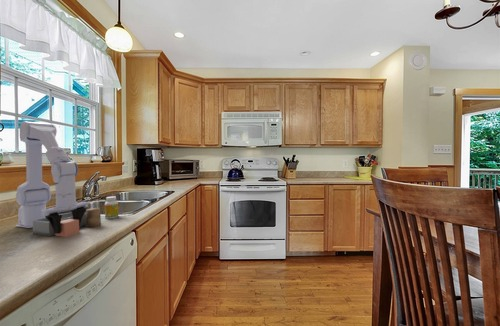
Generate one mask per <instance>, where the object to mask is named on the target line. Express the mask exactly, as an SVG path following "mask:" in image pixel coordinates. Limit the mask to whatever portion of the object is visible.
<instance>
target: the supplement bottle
mask: <svg viewBox="0 0 500 326" xmlns="http://www.w3.org/2000/svg"><path fill="white" fill-rule="evenodd" d="M105 199H106V200H105V202H104V218H105V219H106V220H108V219H109V220H110V219H116V218H118V217H119V202H118V200H117V197H116V195H115V196H107V197H106V198H105Z"/></svg>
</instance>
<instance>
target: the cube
mask: <svg viewBox="0 0 500 326" xmlns="http://www.w3.org/2000/svg"><path fill="white" fill-rule="evenodd" d="M60 227H61V232H60V233H59V234H56V233H55V235H54V236H55V237H56V236H57V237H61V238H66V237H70V236H73V235H77V234H79V233H80V227H79V220H77V219H67V220H63V221H61V223H60Z"/></svg>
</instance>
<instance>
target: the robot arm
mask: <svg viewBox="0 0 500 326" xmlns="http://www.w3.org/2000/svg"><path fill="white" fill-rule="evenodd" d="M57 132H58V131H57V127H56V125H55V124H53V123H44V122H37V121H36V122H35V121H27V120H24V121H22V122H21V123H20V125H19V139H20V142H23V143H25V144H24V145H25V162H26V163H25V165H26V166H25V167H26V169H25V171H26V173H25V175H26V176H25V177H26V180H25V182H23V183H22V184H20V185H18V186H17V188H16V194H15V200H16V203H17V204H18V205H19V206H20V207H19V208H18V211H17V214H18V215H17V216H18V224H15V226H16V227H20V228H27V229H30V228H32V229H33V221H34V220H38V219H43V218H47V220H48V221H49V222H50V224H51V226H52V228H53V230H54V233H56V234H59V233H60V232H61V227H60V223H61V217H62V215H60V213H63V212H67V211H70V212H72V215H73V219H77V220H79V228H81V227H80V223H81V220H82V217H83V215H84V213H85V212H86V210H87V207H89V201H80V202H77V197H76V194H77V193H76V191H77V190H76V176H77V175H78V173H79V167H78V163H77V162H76V161H74V160H73V159H70V157H69V156H68V154H67V152H66V151H65V149H64V148H63V147H60V146H59V144H58V142H57V139H56V136H57ZM43 147H44V148H45V149H46V152H45V155H46V158H47V159H48V162H49V164H50V166H51V168H50V173H51V176H52V182H53V183H54V184H55V187H54V188H55V206H54V207H49V208H47V204H48V203H49V201H50V200H51V198H52V192H51V187H50V185H49V184H48V183H46V182H44V181H43Z"/></svg>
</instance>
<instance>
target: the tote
mask: <svg viewBox="0 0 500 326" xmlns="http://www.w3.org/2000/svg"><path fill="white" fill-rule="evenodd" d="M59 215H62V217H61V221H63V220H67V219H73V215H72V212H71V211H70V212H66V213H61V214H60V213H59ZM85 226H86V227H87V220H86V212H85V213H84V215H83V217H82V220H81V223H80V227H79V228H82V227H85ZM32 229H33V231H32V232H33V235H38V236H39V235H40V236H46V237H51V236H56V235H55V233H54V230H53V228H52V226H51V224H50V222H49V221H48V220H47V218H43V219H38V220H34V221H33V227H32Z"/></svg>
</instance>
